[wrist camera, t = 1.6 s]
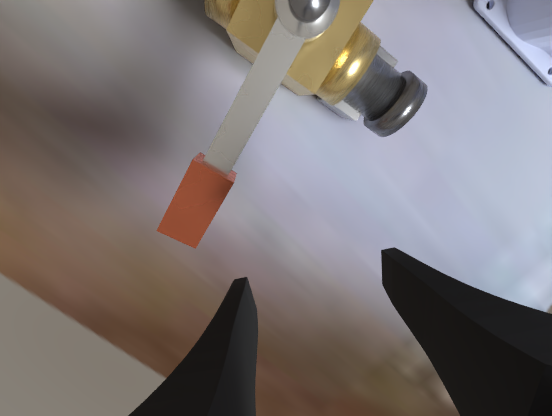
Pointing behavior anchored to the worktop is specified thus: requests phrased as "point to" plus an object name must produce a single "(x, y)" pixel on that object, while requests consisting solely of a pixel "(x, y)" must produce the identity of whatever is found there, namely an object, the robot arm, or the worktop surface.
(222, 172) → the valve lever
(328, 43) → the pipe valve
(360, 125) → the worktop surface
